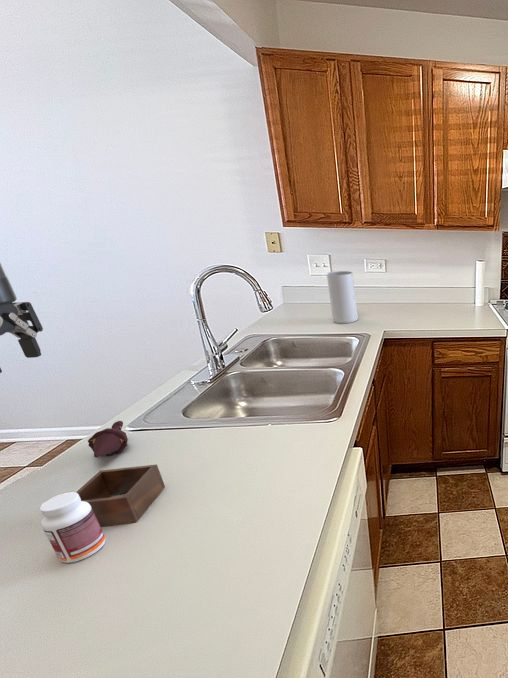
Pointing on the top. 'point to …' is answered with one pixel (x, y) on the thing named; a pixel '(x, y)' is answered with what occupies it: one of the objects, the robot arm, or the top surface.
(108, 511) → the box
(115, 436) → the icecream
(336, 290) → the cylinder vase
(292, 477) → the top surface
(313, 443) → the top surface
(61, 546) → the pill bottle
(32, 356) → the robot arm
